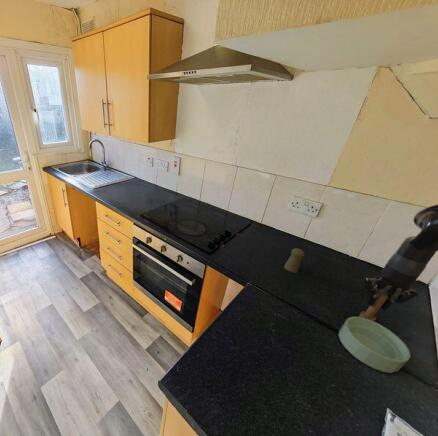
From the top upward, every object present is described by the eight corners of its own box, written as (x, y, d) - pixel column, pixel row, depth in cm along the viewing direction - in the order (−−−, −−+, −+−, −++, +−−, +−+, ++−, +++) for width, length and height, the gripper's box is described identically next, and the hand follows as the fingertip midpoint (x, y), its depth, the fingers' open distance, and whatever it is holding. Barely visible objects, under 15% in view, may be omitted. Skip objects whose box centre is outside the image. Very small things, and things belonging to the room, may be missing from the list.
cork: (286, 263, 113) (294, 244, 108) (299, 269, 110) (308, 250, 105) (282, 268, 109) (290, 249, 104) (296, 274, 106) (304, 255, 101)
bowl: (384, 339, 77) (394, 327, 75) (409, 383, 65) (422, 371, 62) (332, 322, 83) (339, 310, 80) (346, 359, 70) (355, 347, 67)
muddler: (369, 318, 85) (387, 293, 79) (373, 327, 82) (393, 301, 76) (356, 315, 86) (373, 289, 80) (360, 323, 83) (378, 297, 77)
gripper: (381, 267, 72) (355, 306, 80) (440, 282, 67) (406, 321, 75) (371, 255, 78) (348, 292, 86) (425, 267, 73) (395, 305, 81)
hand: (375, 305), depth 80 cm, fingers open, 3 cm apart
